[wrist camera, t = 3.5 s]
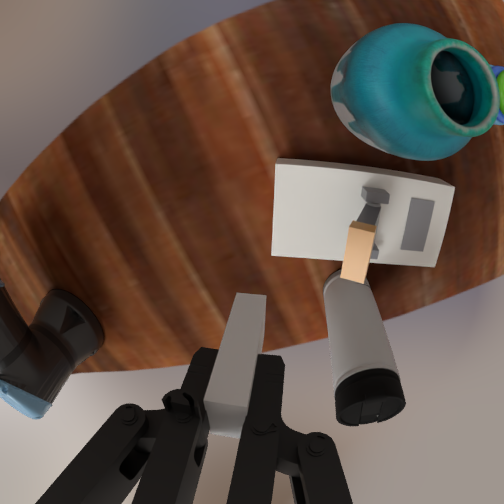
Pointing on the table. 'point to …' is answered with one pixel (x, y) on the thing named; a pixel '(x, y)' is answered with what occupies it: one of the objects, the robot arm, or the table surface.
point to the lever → (360, 243)
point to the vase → (414, 92)
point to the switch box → (358, 211)
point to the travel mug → (360, 355)
